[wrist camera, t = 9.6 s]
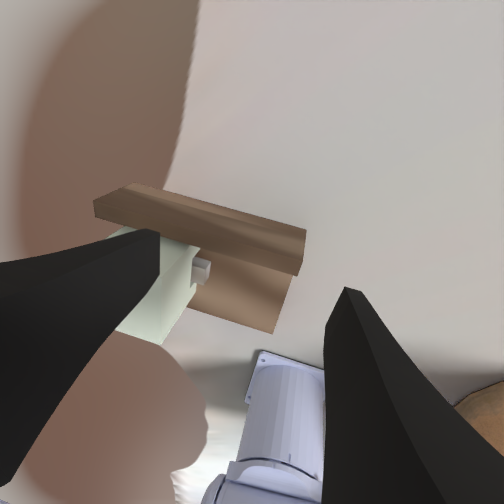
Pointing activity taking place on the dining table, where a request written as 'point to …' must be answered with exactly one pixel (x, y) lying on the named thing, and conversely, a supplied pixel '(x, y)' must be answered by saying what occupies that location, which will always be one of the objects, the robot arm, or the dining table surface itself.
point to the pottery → (486, 414)
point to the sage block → (162, 292)
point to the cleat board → (218, 250)
